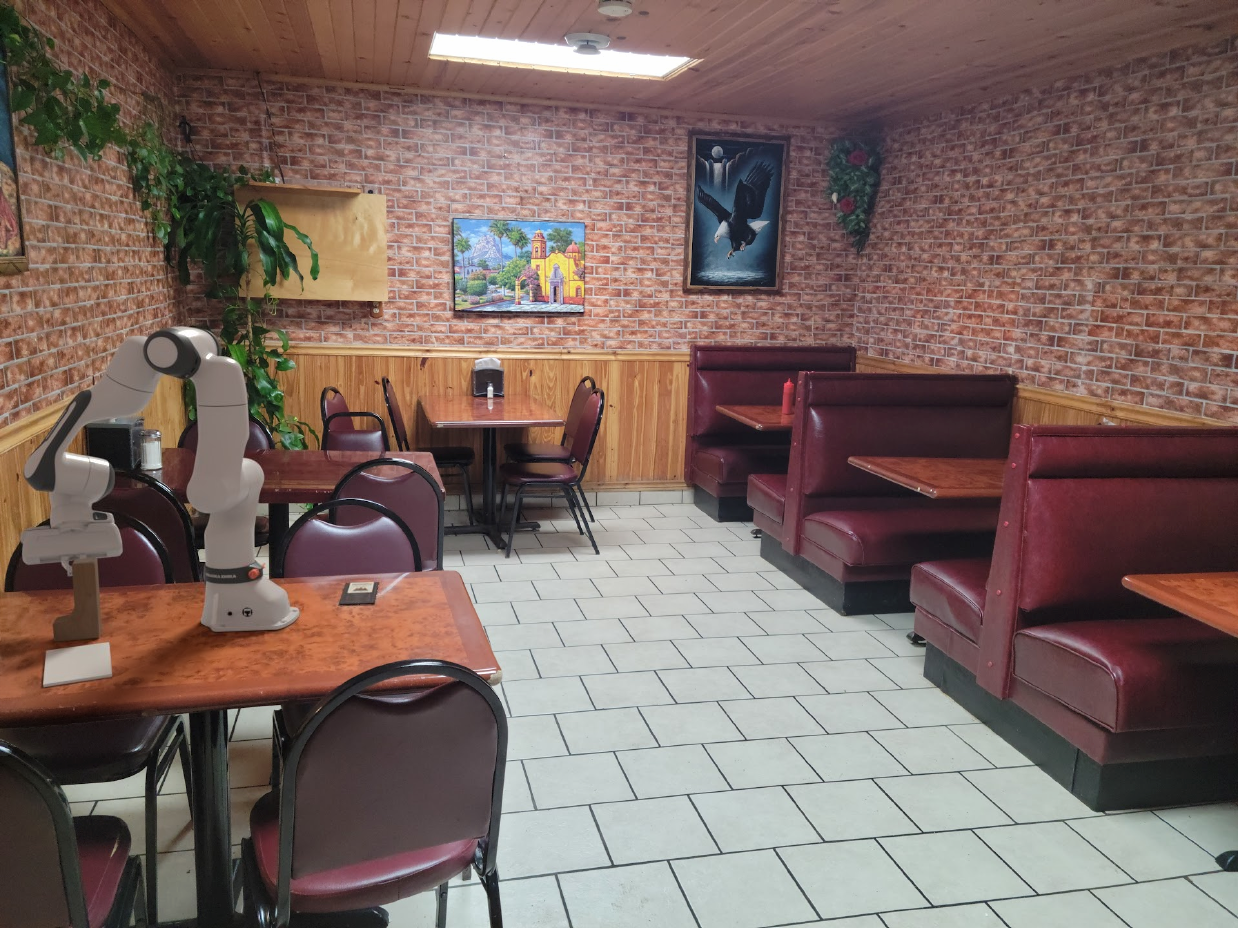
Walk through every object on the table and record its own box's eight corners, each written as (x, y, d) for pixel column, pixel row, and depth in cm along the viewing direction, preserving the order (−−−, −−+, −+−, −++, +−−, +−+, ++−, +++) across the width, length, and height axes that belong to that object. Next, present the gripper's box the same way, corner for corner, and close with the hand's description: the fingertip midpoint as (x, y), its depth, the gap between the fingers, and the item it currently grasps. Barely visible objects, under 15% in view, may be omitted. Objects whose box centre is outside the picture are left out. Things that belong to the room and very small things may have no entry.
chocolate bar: (338, 603, 236) (345, 582, 253) (338, 607, 236) (345, 586, 254) (374, 602, 238) (379, 581, 255) (374, 606, 238) (379, 585, 255)
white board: (46, 653, 199) (46, 650, 199) (109, 644, 205) (109, 641, 205) (43, 687, 182) (43, 684, 182) (112, 676, 188) (111, 673, 188)
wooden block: (53, 642, 205) (47, 565, 202) (57, 635, 209) (52, 559, 206) (99, 638, 208) (94, 562, 205) (102, 631, 213) (97, 557, 209)
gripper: (18, 521, 211) (19, 573, 204) (119, 513, 221) (123, 562, 214) (21, 535, 215) (22, 586, 209) (120, 527, 225) (124, 575, 219)
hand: (74, 574), depth 211 cm, fingers closed
